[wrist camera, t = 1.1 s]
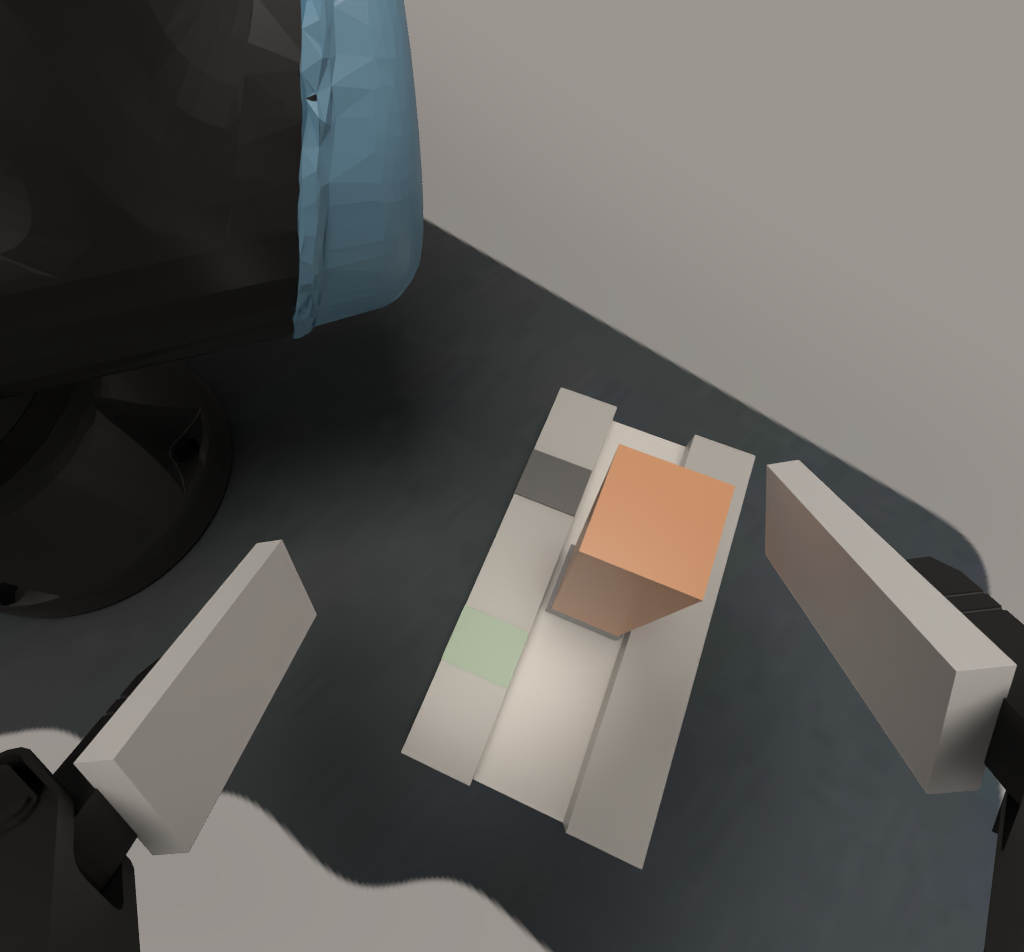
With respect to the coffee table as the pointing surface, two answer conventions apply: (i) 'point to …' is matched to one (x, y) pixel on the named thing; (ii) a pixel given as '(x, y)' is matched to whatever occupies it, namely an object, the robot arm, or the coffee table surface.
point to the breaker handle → (642, 545)
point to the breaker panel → (570, 651)
